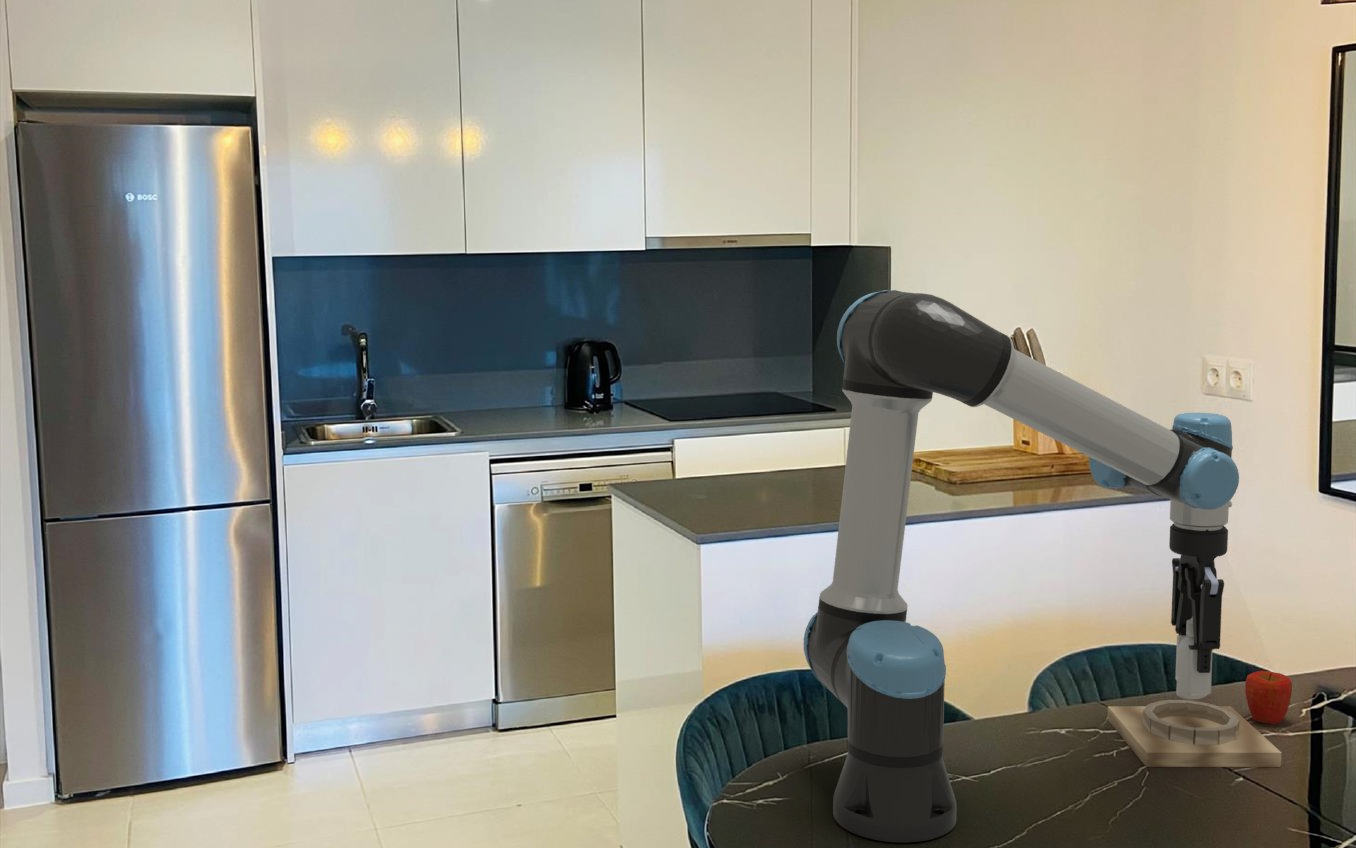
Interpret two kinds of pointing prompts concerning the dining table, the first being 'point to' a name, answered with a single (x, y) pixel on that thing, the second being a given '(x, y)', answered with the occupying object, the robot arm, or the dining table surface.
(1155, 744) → the socket stand
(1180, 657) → the eye dropper bottle
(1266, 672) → the apple
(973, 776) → the dining table surface
